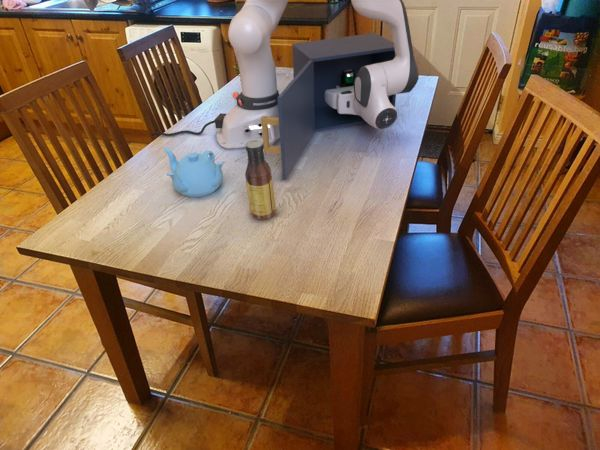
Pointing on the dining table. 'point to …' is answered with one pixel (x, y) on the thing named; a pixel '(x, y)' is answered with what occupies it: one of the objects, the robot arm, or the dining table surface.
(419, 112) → the dining table surface
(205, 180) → the teapot
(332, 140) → the dining table surface
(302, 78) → the cupboard door
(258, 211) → the sauce bottle
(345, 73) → the soda can
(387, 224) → the dining table surface
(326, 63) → the cupboard
